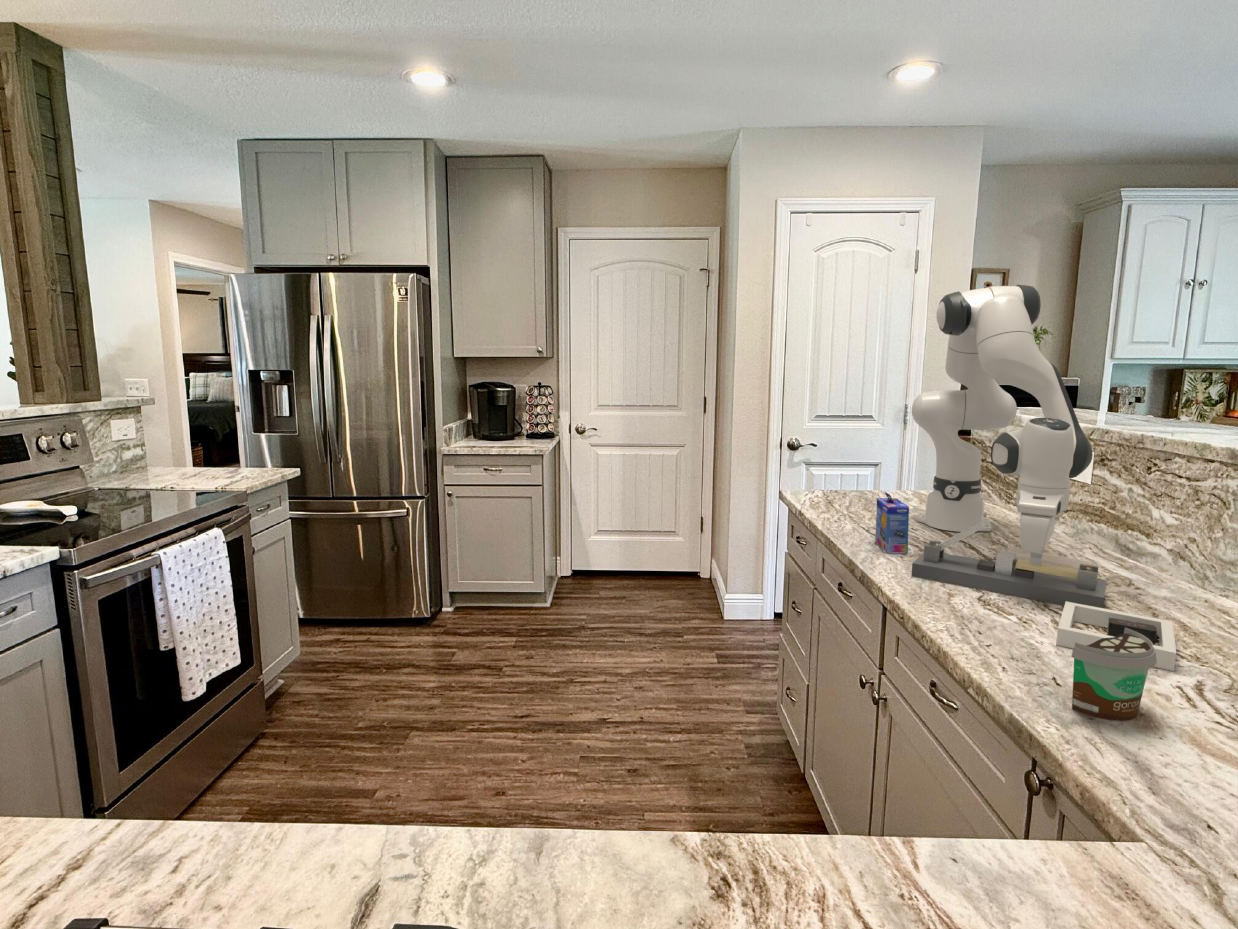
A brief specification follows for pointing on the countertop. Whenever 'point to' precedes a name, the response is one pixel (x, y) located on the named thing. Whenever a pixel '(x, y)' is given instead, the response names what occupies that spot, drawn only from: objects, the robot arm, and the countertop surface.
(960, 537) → the steel strap
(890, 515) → the ink cartridge box
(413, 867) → the countertop surface
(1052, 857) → the countertop surface
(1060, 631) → the white square frame
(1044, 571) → the brass strap
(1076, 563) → the washcloth
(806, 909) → the countertop surface
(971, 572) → the lug board
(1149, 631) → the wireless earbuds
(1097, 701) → the food container
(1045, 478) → the robot arm
